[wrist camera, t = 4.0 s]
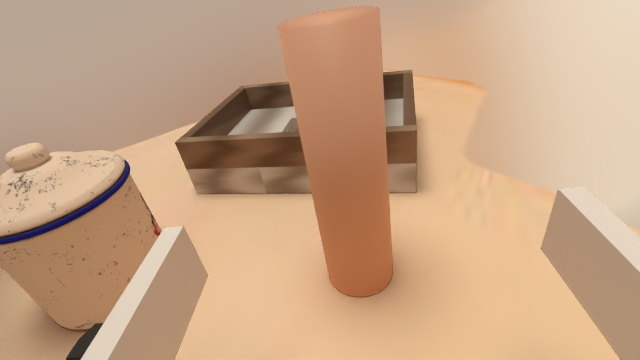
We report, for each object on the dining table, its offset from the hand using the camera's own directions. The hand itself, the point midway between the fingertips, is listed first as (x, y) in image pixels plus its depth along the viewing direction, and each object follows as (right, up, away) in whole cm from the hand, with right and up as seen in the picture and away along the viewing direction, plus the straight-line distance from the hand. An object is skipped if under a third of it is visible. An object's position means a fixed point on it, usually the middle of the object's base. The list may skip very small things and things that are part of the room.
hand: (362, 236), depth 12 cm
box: (-2, +5, +26) cm, 27 cm away
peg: (+1, -4, +11) cm, 12 cm away
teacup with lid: (-19, -6, +14) cm, 24 cm away
